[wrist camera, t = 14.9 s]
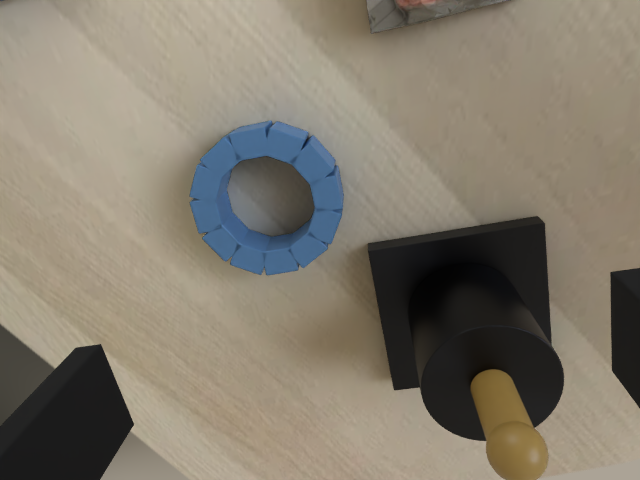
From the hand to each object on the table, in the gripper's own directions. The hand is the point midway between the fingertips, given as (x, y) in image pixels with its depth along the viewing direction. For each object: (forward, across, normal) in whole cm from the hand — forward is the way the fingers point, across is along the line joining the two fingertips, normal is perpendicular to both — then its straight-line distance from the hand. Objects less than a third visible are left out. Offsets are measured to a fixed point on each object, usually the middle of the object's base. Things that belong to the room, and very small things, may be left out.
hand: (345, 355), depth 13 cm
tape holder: (+24, +5, -12) cm, 27 cm away
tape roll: (+24, -7, -1) cm, 24 cm away
